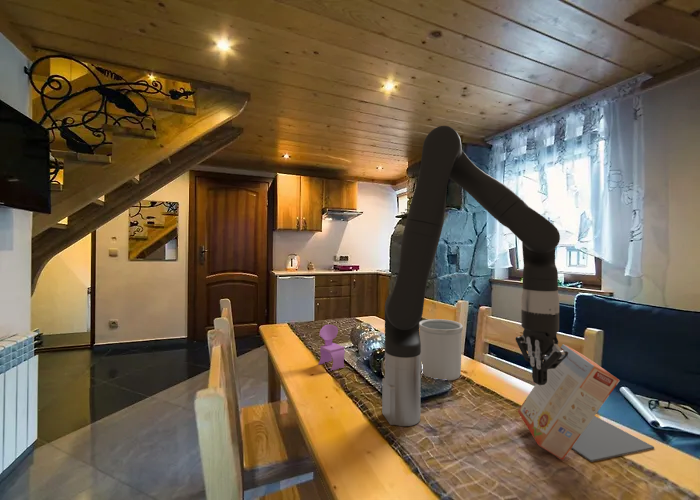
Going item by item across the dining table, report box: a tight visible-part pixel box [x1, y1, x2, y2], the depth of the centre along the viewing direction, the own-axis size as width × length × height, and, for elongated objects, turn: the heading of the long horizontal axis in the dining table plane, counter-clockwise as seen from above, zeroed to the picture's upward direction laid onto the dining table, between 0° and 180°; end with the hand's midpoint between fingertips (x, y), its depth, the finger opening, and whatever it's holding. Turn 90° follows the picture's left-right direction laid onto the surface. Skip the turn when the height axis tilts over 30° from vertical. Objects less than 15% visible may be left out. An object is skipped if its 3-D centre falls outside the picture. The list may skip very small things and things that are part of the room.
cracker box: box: [517, 343, 621, 461], centre depth 73 cm, size 14×6×21 cm, turn 169°
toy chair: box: [317, 323, 346, 372], centre depth 120 cm, size 8×9×15 cm
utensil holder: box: [419, 318, 464, 381], centre depth 114 cm, size 15×15×18 cm
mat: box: [571, 415, 655, 463], centre depth 78 cm, size 18×18×1 cm
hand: (539, 383), depth 74 cm, fingers closed
